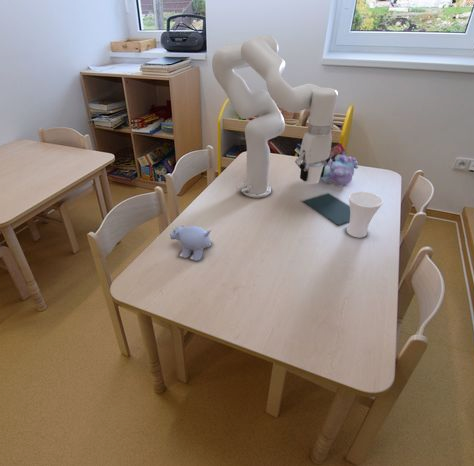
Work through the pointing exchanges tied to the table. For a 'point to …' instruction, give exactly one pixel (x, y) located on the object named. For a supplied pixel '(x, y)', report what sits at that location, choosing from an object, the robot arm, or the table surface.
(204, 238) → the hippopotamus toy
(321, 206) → the mat
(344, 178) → the pastel bubbly cloud
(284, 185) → the table surface
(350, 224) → the cup
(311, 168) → the shot glass
